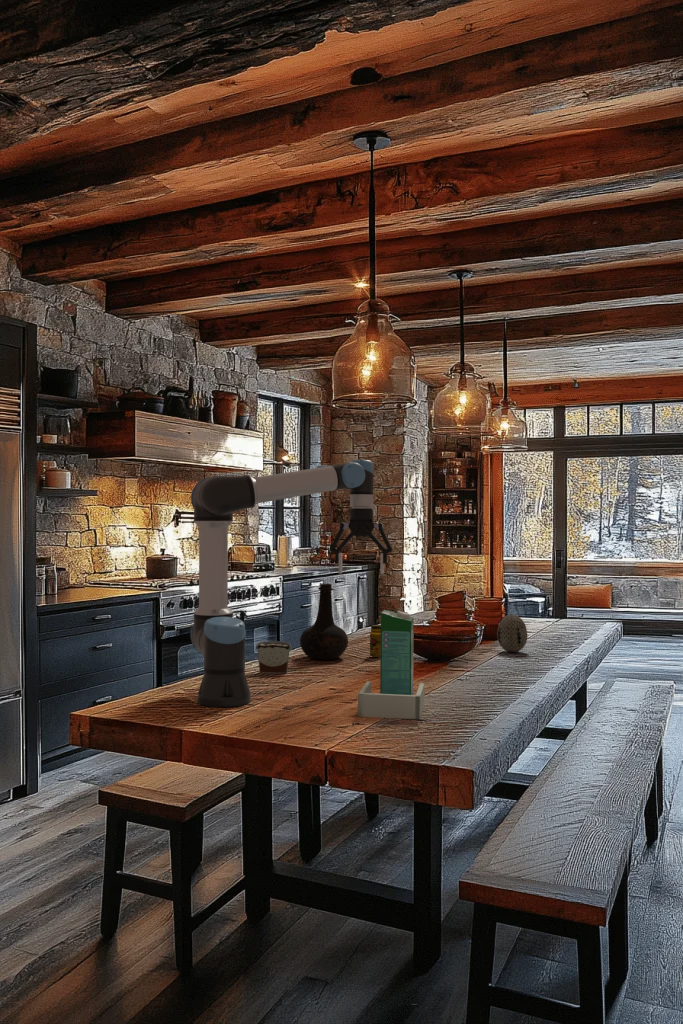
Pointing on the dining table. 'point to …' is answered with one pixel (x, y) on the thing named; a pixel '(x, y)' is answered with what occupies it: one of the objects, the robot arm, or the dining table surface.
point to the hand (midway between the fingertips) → (361, 573)
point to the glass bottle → (324, 631)
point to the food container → (273, 656)
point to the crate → (390, 704)
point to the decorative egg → (512, 633)
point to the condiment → (375, 641)
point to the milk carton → (396, 653)
